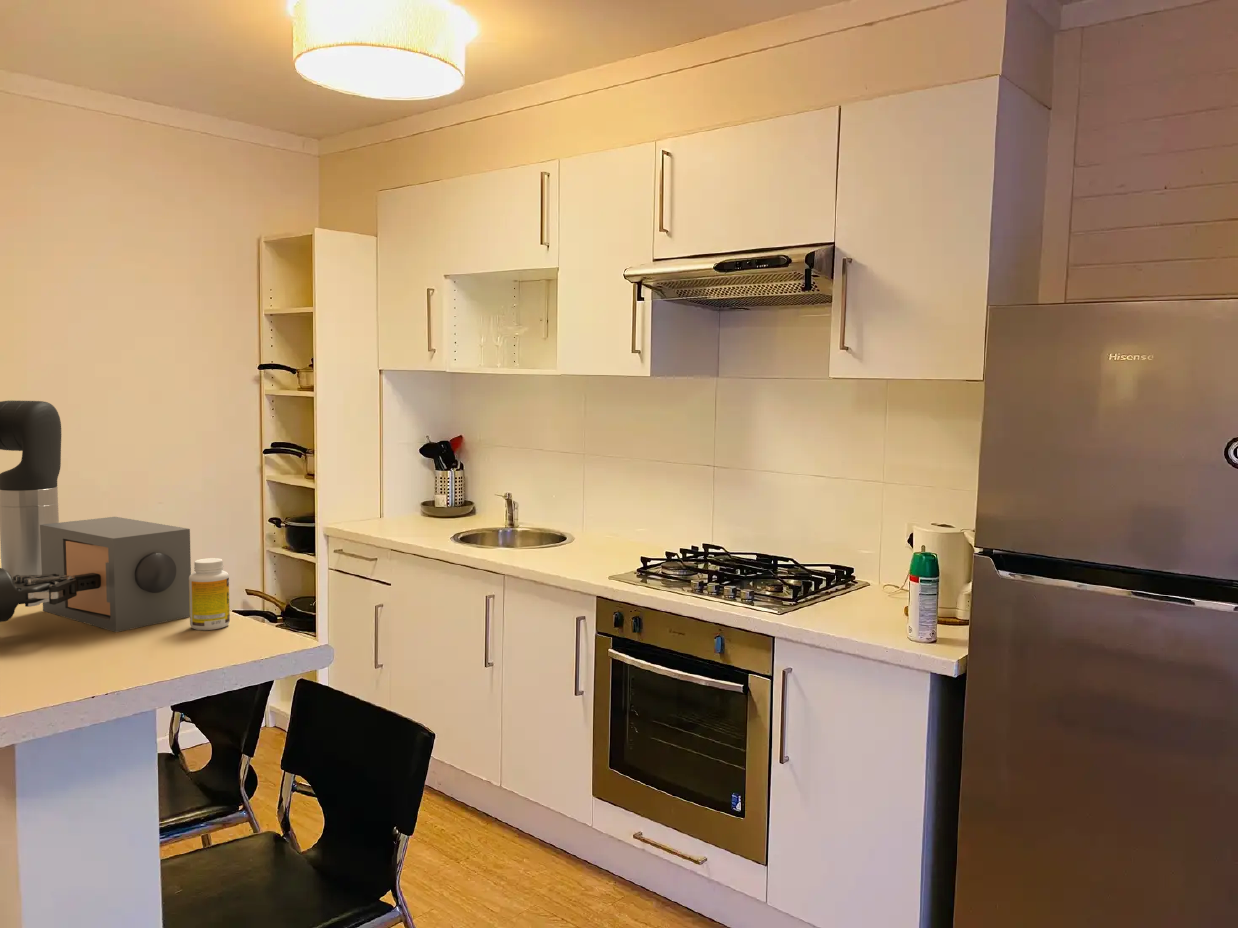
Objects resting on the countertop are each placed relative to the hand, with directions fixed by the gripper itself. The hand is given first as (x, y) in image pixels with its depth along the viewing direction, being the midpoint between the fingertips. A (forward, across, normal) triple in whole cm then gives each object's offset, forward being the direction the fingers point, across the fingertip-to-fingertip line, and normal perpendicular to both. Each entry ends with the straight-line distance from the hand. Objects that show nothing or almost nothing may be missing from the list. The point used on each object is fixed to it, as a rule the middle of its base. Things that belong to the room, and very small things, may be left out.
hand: (98, 580), depth 140 cm
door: (0, +2, +5) cm, 5 cm away
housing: (+5, +5, +7) cm, 10 cm away
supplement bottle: (+10, -14, +7) cm, 18 cm away
